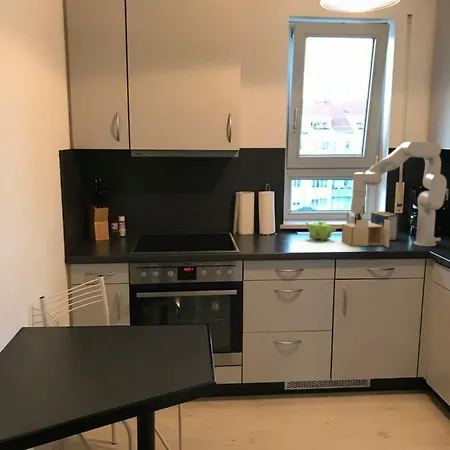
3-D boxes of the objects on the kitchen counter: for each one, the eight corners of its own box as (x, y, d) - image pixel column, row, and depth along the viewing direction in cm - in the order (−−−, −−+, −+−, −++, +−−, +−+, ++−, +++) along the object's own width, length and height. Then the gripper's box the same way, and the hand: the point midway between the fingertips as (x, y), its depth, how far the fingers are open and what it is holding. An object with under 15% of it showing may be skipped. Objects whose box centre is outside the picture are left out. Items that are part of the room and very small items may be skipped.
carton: (371, 240, 325) (372, 222, 323) (381, 244, 313) (382, 226, 312) (341, 241, 320) (342, 223, 319) (350, 245, 309) (351, 227, 307)
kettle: (303, 238, 332) (304, 220, 330) (323, 236, 336) (324, 219, 334) (315, 242, 318) (316, 224, 316) (336, 241, 322) (336, 223, 320)
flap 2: (381, 244, 312) (383, 219, 310) (382, 244, 312) (384, 219, 310) (387, 247, 303) (389, 221, 301) (388, 247, 303) (390, 221, 301)
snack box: (361, 241, 323) (362, 216, 321) (352, 241, 323) (353, 216, 321) (353, 234, 344) (355, 211, 342) (345, 234, 344) (346, 211, 342)
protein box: (383, 235, 343) (384, 211, 340) (398, 239, 329) (399, 214, 326) (369, 236, 340) (370, 212, 337) (383, 240, 325) (385, 215, 323)
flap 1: (352, 245, 308) (353, 220, 305) (352, 245, 308) (353, 219, 306) (367, 245, 308) (369, 220, 306) (367, 245, 309) (368, 220, 306)
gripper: (347, 192, 312) (346, 223, 316) (358, 195, 298) (357, 227, 301) (359, 192, 314) (358, 223, 317) (371, 195, 299) (369, 227, 302)
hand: (357, 225), depth 309 cm, fingers closed
